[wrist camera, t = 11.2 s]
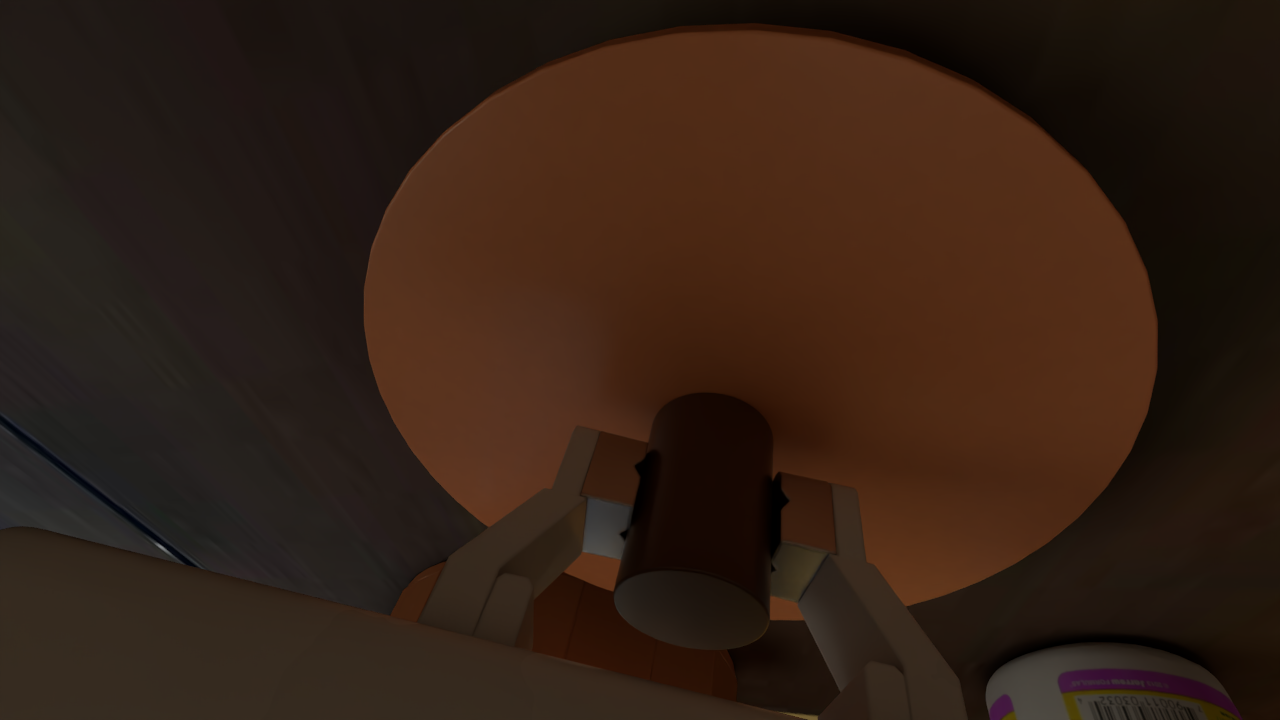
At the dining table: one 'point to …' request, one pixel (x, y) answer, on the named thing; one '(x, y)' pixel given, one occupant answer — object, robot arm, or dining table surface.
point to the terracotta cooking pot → (599, 636)
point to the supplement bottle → (1106, 686)
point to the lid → (764, 311)
